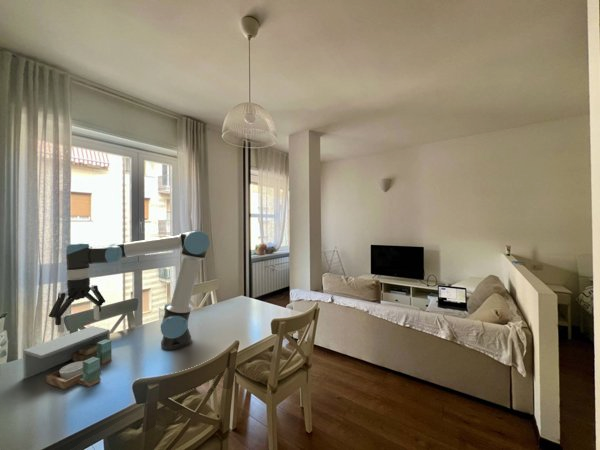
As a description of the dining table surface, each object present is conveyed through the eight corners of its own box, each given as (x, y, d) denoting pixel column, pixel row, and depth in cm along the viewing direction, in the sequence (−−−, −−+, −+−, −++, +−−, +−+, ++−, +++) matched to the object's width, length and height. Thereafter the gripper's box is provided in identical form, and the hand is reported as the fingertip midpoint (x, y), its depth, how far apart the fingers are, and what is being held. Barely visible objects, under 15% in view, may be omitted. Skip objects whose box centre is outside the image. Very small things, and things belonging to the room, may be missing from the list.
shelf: (109, 353, 127) (109, 329, 127) (41, 384, 102) (41, 355, 102) (92, 348, 132) (92, 326, 132) (23, 377, 107) (23, 349, 107)
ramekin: (55, 385, 102) (55, 374, 102) (63, 373, 110) (63, 364, 110) (83, 378, 106) (83, 368, 106) (89, 368, 114) (88, 358, 114)
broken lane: (116, 357, 123) (116, 338, 123) (96, 367, 114) (96, 346, 114) (93, 351, 129) (93, 332, 129) (72, 360, 121) (72, 340, 121)
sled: (111, 374, 109) (111, 353, 109) (76, 394, 96) (76, 369, 96) (82, 365, 116) (82, 345, 116) (46, 382, 104) (45, 359, 103)
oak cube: (98, 355, 125) (98, 345, 125) (88, 360, 120) (87, 350, 120) (89, 354, 126) (89, 344, 126) (79, 359, 121) (79, 349, 121)
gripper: (102, 272, 123) (103, 314, 123) (36, 284, 99) (37, 336, 99) (113, 272, 120) (114, 316, 121) (47, 285, 97) (49, 339, 97)
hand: (79, 325), depth 110 cm, fingers open, 13 cm apart
